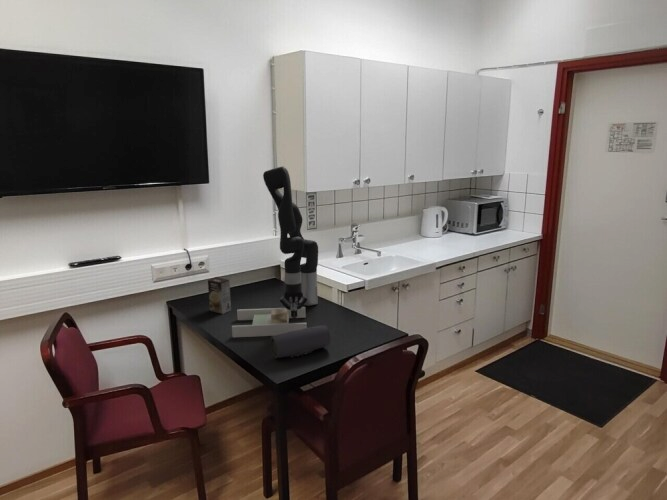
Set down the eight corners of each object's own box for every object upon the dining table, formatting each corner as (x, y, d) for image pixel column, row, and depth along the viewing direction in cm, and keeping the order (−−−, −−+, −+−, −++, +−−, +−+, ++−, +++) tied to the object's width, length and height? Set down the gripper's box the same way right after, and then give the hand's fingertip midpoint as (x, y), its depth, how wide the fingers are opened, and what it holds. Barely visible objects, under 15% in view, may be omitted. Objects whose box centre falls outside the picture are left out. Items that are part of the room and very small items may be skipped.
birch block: (287, 317, 214) (287, 309, 213) (287, 322, 209) (286, 313, 208) (272, 317, 214) (271, 309, 213) (271, 322, 208) (271, 314, 207)
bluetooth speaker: (320, 342, 195) (320, 320, 192) (331, 351, 187) (331, 328, 184) (269, 355, 184) (268, 331, 182) (278, 365, 176) (277, 340, 174)
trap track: (305, 316, 223) (305, 306, 221) (306, 334, 203) (306, 323, 202) (237, 319, 220) (237, 309, 219) (232, 337, 201) (231, 326, 199)
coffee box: (209, 310, 231) (206, 280, 227) (218, 306, 237) (216, 276, 233) (222, 314, 227) (220, 282, 223) (231, 310, 232) (229, 279, 228)
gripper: (307, 278, 211) (308, 313, 216) (278, 279, 210) (279, 315, 214) (308, 283, 204) (309, 320, 208) (277, 284, 203) (279, 321, 207)
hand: (294, 317), depth 211 cm, fingers closed
